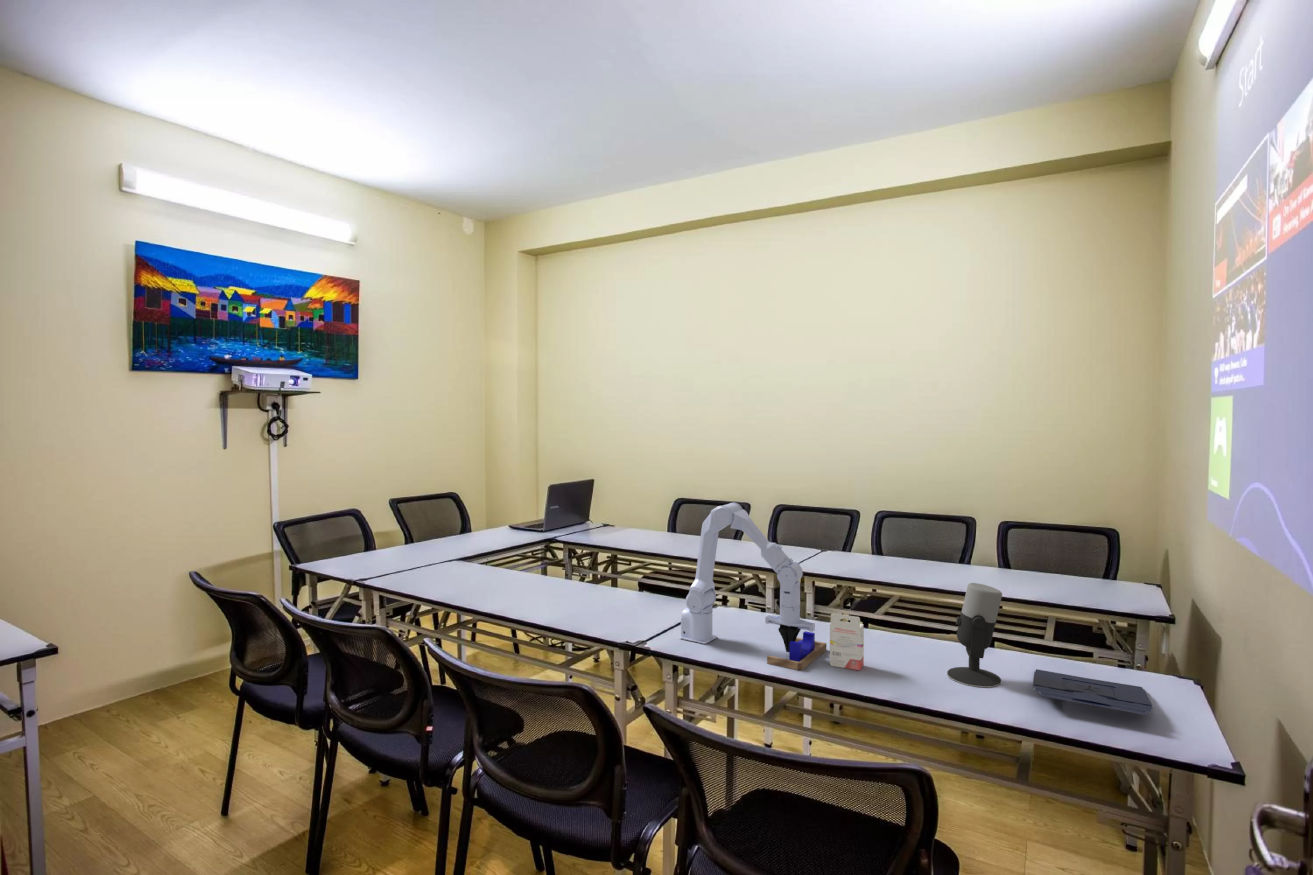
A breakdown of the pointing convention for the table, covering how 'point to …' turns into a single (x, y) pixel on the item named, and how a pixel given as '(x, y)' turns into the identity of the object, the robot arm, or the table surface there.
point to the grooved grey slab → (1092, 692)
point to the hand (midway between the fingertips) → (789, 651)
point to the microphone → (977, 634)
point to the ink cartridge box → (846, 642)
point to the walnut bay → (800, 665)
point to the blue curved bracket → (802, 647)
